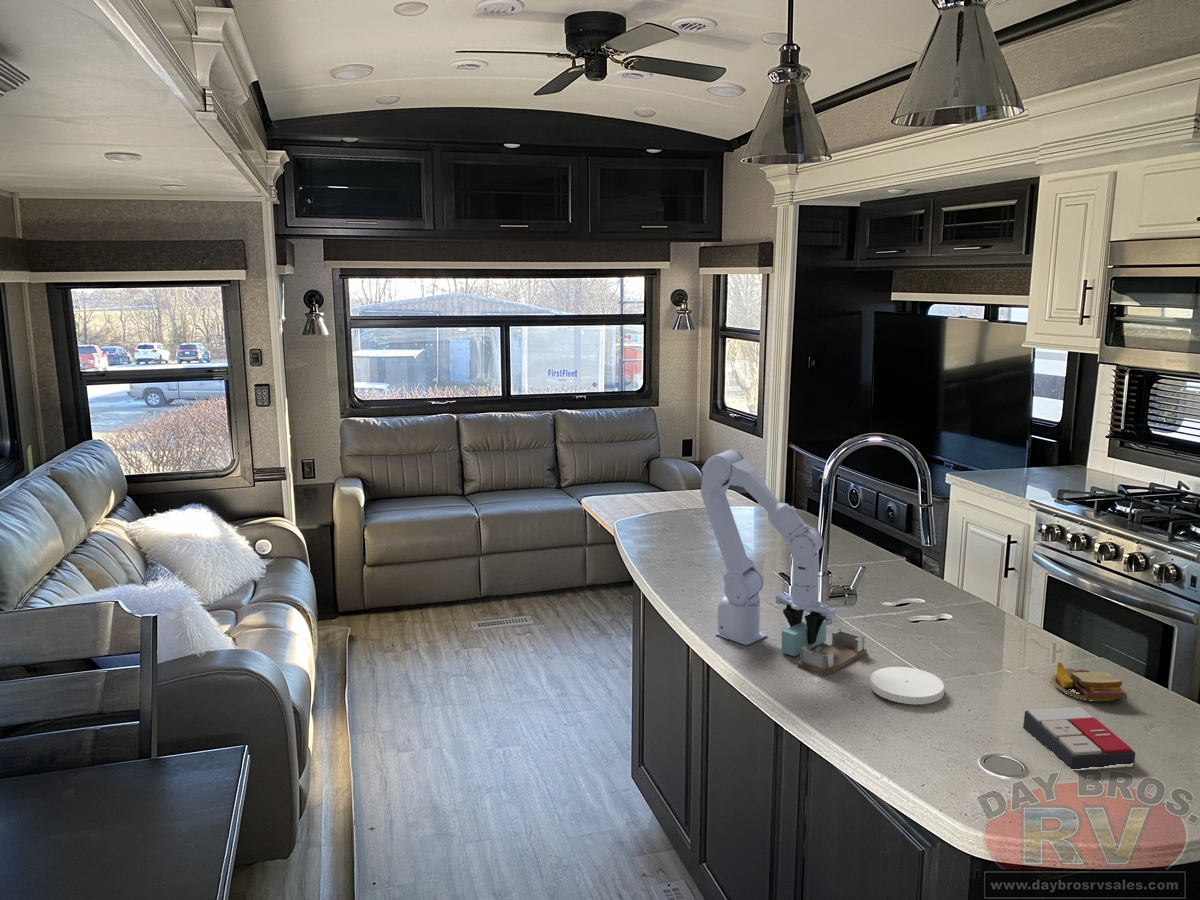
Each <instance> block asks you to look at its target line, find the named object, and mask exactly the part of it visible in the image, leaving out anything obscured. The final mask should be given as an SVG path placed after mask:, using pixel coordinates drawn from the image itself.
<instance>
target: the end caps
mask: <svg viewBox="0 0 1200 900" xmlns="http://www.w3.org/2000/svg"><path fill="white" fill-rule="evenodd" d="M831 636H832V638H831V639H832V640H831V645H833V646H837V645H839V644H842V645H846V646H849V647H852V648H854V652H855V653H859V652H861V651H863V650H864V648H865V640H866V639H865V636H863V635H860V634H856V633H853V632H850V631H846V630H842V629H841V628H840V629H837V630H834V631H833V632H832V635H831ZM833 655H834V653H831V652H830V653H828V654H826V655H824V654H821V653H818V651H814V650H812V648H811V646H810V645H807V646H805V647H803V648H801V649H800V654H799V661H800V662H802V663H805V664H808V665H811V666H814V667H817V668H820V669H823V670H828V669H830V668H831V667H833Z"/></svg>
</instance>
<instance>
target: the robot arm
mask: <svg viewBox="0 0 1200 900" xmlns="http://www.w3.org/2000/svg"><path fill="white" fill-rule="evenodd" d="M700 470H701V473H702V478H701V487H700V495H701V498H702V501H703V505H704V506H705V507H704V508H705V509H706V513H707V515H708V518H709V522H710V524H711V528H712V530H713V533H714V536H715V539H716V542H717V545H718V548H719V551H720V554H721V556H722V557H721V558H722V560H723V563H724V568H723V574H722V578H723V582H724V588H723V589H724V590H723V591H724V595H725V596H723V597H722V598H721V599H720V600H719V602H718V603H719V604H718V606H717V631H716V632H715V636H718V635H719V637H721V638H724V639H727V640H729V639H730V641H733V642H736V643H738V644H741V645H744V646H749V645H751V644H753V643H755V642H757V641H759V640H761V639H764V638H766V637H768V634H767V633H766V632H762V631H760V621H761V619H760V616H761V615H760V608H761V605H760V603H761V602H760V601H761V600H760V594H759V593H760V591H761V590H762V589H763V587H764V578H763V577H764V576H763V575H762V574H761V572H760V571H759V570H758V569H757V568H756V565H755V562H754V561H753V560H751V559H750V558H749V557H748V556H747V553H746V550H745V546H744V544H743V541H742V539H741V535H740V532H739V530H738V526H737V523H736V520H735V519H734V518H735V517H734V515H733V511H732V509H731V506H730V502H729V500H728V498H727V491H728V489H729V488H730V486H735V487H741V488H743V489H745V491H747V492H748V494H749V495H750V496H751V497H752V498H753V499H755V500H756V501H757V503H758V504H759V505H760V506H761V507H762V508H764V510H765V511H766V512H767V519H768V522H769V523H770V524H771V525H772V527H774V529H775V530H776V531H777V532H778V533H779V534H780V535H781V537H783V538H784V540H785V541H786V542H787V543H789V545H788V549H789V552H790V554H791V555H792V578H791V579H792V580H791V581H792V583H791V591H792V592H791V594H786V593H781V592H780V593H778V594H776V595H775V604H777V605H781V604H782V605H785V608H783V610H782V613H783V615H784V616H785V618H786V620H787V623H788V626H789V627H792V626H794V625H796V624H799V623H801V622H803V615H804V613H805V612H804V611H806V612H809V614H806V615H805V616H804V619H805V620H804V621H806V624H807V631H808V634H807V640H808V644H810V645H811V644H813V643H815V642H816V638H817V635H818V632H819V629H820V627H821V625H822V623H823V621H824V620H825V619H828V620H832V619H834V618H836V610H837V609H836V608H834V607H831V606H829V605H827V604H825V603H823V602H821V601H820V600H819V586H820V585H819V581H820V579H819V577H820V575H819V574H820V552H819V551H820V550H821V548H822V547H823V542H824V540H823V537H822V535H821V533H820V532H819V531H820V530H818V529H816V528H815V527H811V525H810V524H809V523H806V522H805V521H804V520H803V519H802V517H800V516H799V515H798V513H797V512H796V511H797V508H795V506H793V505H789V503H786V502H780V501H779V500H778V498H777V497H776V496H775V495H774V493H773V492H772V491H771V490H770V488H768V486H767V485H766V483H765V482H764V481H763V479H762V478H760V476H759V475H758V473H757V472H756V471H755V470H754V468H753V466H752V464H751V462H750V461H749V460H748V459H747V458H745V457H744V456H743V454H742V453H741V452H740V451H739V450H738V449H732V448H730V449H726V450H724V451H723V452H721V453H718V454H715V455H711V456H710V457H709V458H708V459H707V460H706V461H705V463H704V464H703V466H702V467H701V469H700Z"/></svg>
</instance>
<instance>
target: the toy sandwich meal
mask: <svg viewBox="0 0 1200 900" xmlns="http://www.w3.org/2000/svg"><path fill="white" fill-rule="evenodd" d="M1051 682H1052V684H1053V685H1054V686H1055V687H1056V689H1057V688H1058V689H1059V690H1058V689H1057V690H1058V691H1060V690H1061V691H1063V692H1065V693H1067V694H1069V695H1072V696H1075V697H1078V698H1082V699H1086V700H1093V701H1108V702H1110V701H1109V700H1112V701H1115V700H1116V699H1123V698H1125V697H1126V691H1124V690H1123V687H1122V686H1123V680H1122V679H1118V678H1116V677H1115V676H1114V675H1112V674H1110V673H1109V672H1106V671H1105V672H1104V671H1100V672H1099V671H1096V672H1095V671H1092V672H1091V671H1089V670H1085V669H1074V668H1065V667H1064V664H1063V663H1062V662H1059V661H1058V662H1057V666H1056V674H1054V675H1053V676H1052V677H1051ZM1069 689H1071V690H1072V689H1074V690H1076V691H1075V692H1079V693H1080V694H1076V693H1073V692H1070V691H1071V690H1069ZM1068 690H1069V691H1068ZM1061 691H1060V692H1061ZM1063 692H1062V693H1063ZM1114 699H1115V700H1114Z"/></svg>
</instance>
